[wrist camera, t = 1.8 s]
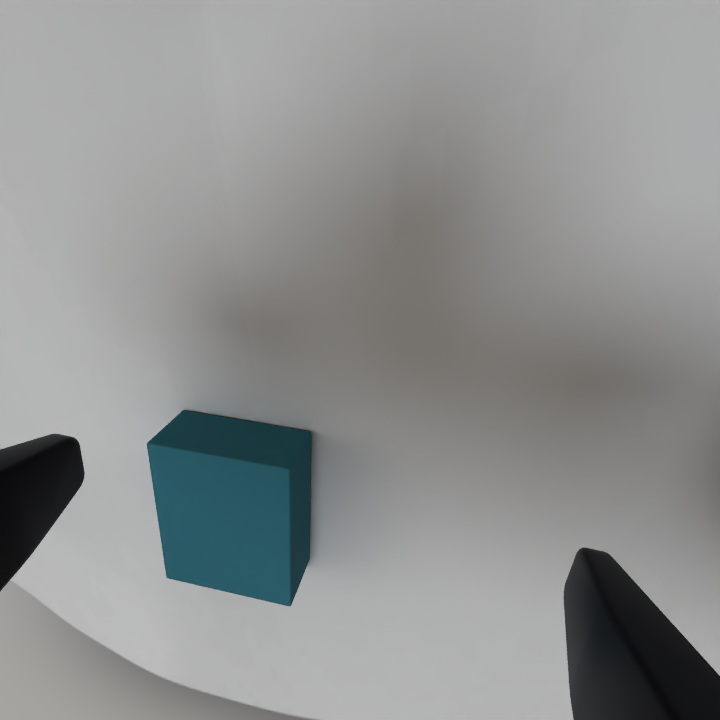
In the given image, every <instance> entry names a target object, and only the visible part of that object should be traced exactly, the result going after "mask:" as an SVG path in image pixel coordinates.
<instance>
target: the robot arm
mask: <svg viewBox="0 0 720 720" xmlns="http://www.w3.org/2000/svg"><path fill="white" fill-rule="evenodd" d="M83 480H84V467H83V461H82V456H81V450H80V445H79V442H78V441H77V439H75V438H74V437H70V436H65V435H61V434H51V435H47V436H44V437H41V438H37V439H34V440H31V441H27V442H24V443H21V444H17V445H14V446H11V447H8V448H4V449H1V450H0V591H1V590H2V589H3V587H4V586H5V585H6V584H7V583H8V582H9V580H10V579H11V578H12V577H13V576H14V575H15V574H16V572H17V571H18V570H19V569H20V568H21V567H22V565H23V564H24V563H25V562H26V560H27V559H28V558H29V557H30V556H31V554H32V553H33V552H34V550H35V549H36V548H37V546H38V545H39V544H40V542H41V541H42V539H43V538H44V537H45V535H46V534H47V532H48V531H49V530H50V528H51V527H52V526H53V524H54V523H55V521H56V520H57V519H58V517H59V516H60V514H61V513H62V512H63V510H64V509H65V508H66V506H67V505H68V503H69V502H70V501H71V499H72V498H73V496H74V495H75V494H76V492H77V491H78V489H79V488H80V486H81V485H82V482H83ZM564 609H565V625H566V641H567V657H568V672H569V686H570V697H571V704H572V711H573V718H574V720H720V676H719V675H718V674H717V672H716V671H715V670H714V669H713V668H712V667H711V666H710V665H709V664H708V663H707V661H706V660H705V659H704V658H703V657H702V656H701V655H700V654H699V653H698V651H697V650H696V649H695V648H694V647H693V646H692V645H691V644H690V643H689V642H688V640H687V639H686V638H685V637H684V636H683V635H682V634H681V633H680V632H679V630H678V629H677V628H676V627H675V626H674V625H673V624H672V623H671V622H670V621H669V619H668V618H667V617H666V616H665V615H664V614H663V613H662V612H661V611H660V609H659V608H658V607H657V606H656V605H655V604H654V603H653V602H652V601H651V600H650V598H649V597H648V596H647V595H646V594H645V593H644V592H643V591H642V590H641V588H640V587H639V586H638V585H637V584H636V583H635V582H634V581H633V580H632V579H631V577H630V576H629V575H628V574H627V573H626V572H625V571H624V570H623V569H622V567H621V566H620V565H619V564H618V563H617V562H616V561H615V560H614V559H613V558H612V557H611V556H610V555H609V554H608V553H606V552H603V551H598V550H594V549H589V548H581V549H579V551H578V552H577V554H576V556H575V559H574V562H573V564H572V567H571V570H570V572H569V575H568V578H567V580H566V583H565V588H564Z"/></svg>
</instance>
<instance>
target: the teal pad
mask: <svg viewBox="0 0 720 720" xmlns="http://www.w3.org/2000/svg"><path fill="white" fill-rule="evenodd" d="M147 448H148V455H149V461H150V468H151V475H152V482H153V488H154V495H155V502H156V509H157V515H158V522H159V529H160V536H161V542H162V549H163V556H164V563H165V569H166V576H167V578H169V579H174V580H178V581H182V582H187V583H191V584H195V585H200V586H204V587H208V588H213V589H217V590H221V591H226V592H230V593H234V594H239V595H243V596H247V597H252V598H256V599H260V600H265V601H269V602H273V603H278V604H282V605H286V606H291V604H292V602H293V599H294V597H295V594H296V592H297V589H298V587H299V584H300V582H301V579H302V577H303V574H304V572H305V569H306V567H307V564H308V562H309V553H310V487H311V432H310V431H305V430H299V429H293V428H287V427H281V426H275V425H269V424H263V423H257V422H251V421H245V420H239V419H233V418H227V417H221V416H215V415H209V414H203V413H197V412H191V411H185V410H184V411H182V412H181V413H180V414H179V415H177V416H176V417H175V418H174V419H173V420H172V421H171V422H170V423H169V424H168V425H167V426H165V427H164V428H163V429H162V430H161V431H160V432H159V433H158V434H157V435H156V436H154V437H153V438H152V439H151V440H150V441H149V442H148V443H147Z"/></svg>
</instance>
